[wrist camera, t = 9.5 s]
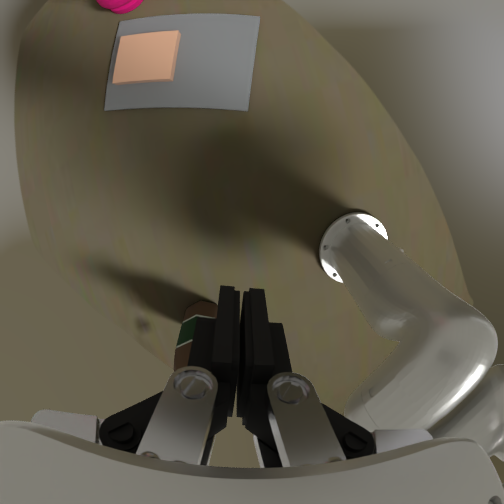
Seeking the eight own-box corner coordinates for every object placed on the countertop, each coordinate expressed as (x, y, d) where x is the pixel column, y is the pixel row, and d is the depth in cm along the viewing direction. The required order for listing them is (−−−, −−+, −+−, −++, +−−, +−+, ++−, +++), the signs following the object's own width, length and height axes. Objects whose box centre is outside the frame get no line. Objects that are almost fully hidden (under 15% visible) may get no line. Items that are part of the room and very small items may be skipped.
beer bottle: (191, 334, 50) (171, 444, 28) (179, 301, 47) (146, 415, 25) (230, 330, 50) (227, 444, 28) (221, 296, 46) (211, 416, 25)
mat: (260, 18, 28) (260, 16, 28) (247, 111, 35) (247, 111, 34) (121, 22, 26) (119, 21, 26) (105, 110, 33) (104, 110, 32)
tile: (178, 30, 27) (120, 36, 26) (170, 79, 30) (112, 83, 29) (181, 34, 28) (125, 39, 28) (173, 81, 32) (117, 85, 31)
